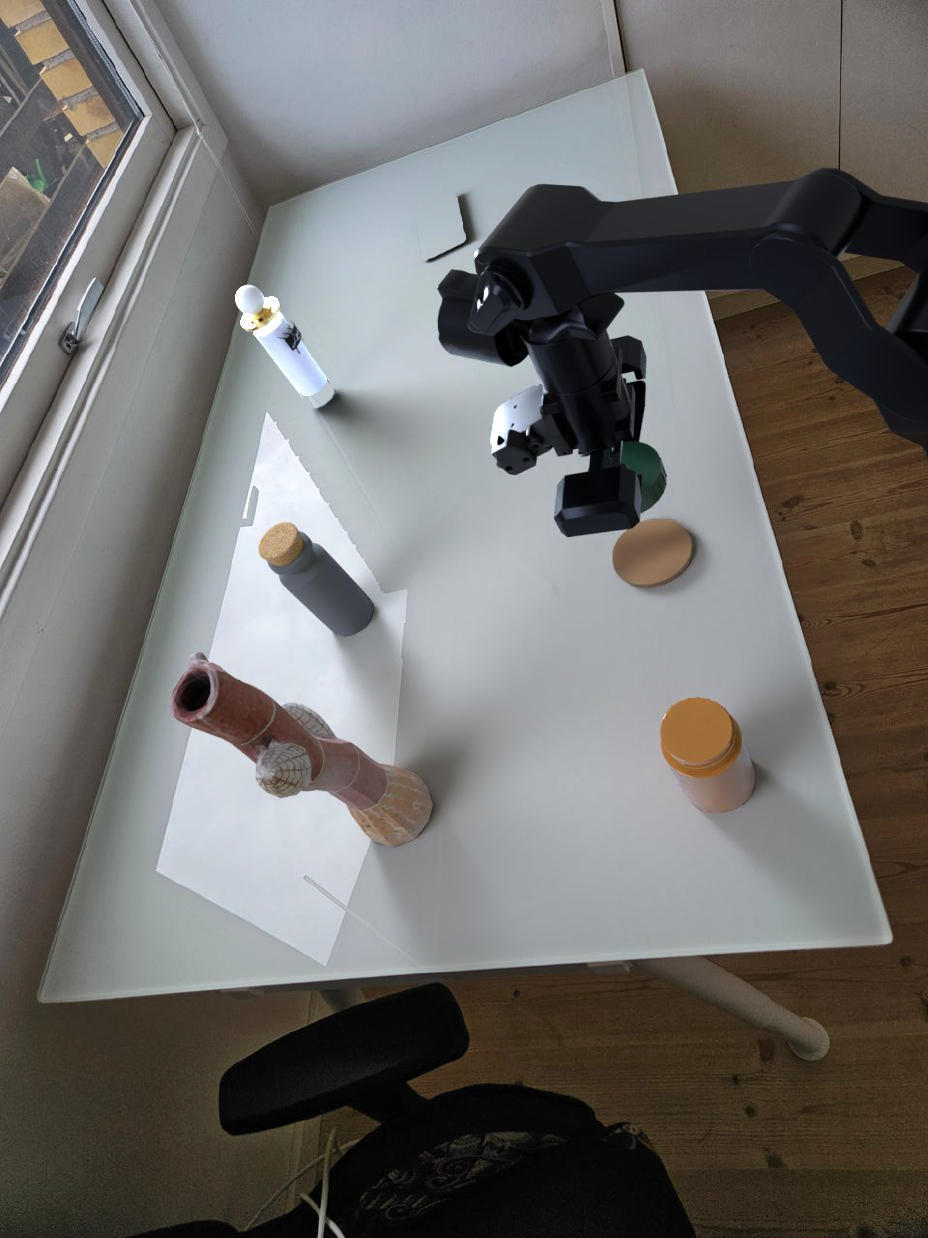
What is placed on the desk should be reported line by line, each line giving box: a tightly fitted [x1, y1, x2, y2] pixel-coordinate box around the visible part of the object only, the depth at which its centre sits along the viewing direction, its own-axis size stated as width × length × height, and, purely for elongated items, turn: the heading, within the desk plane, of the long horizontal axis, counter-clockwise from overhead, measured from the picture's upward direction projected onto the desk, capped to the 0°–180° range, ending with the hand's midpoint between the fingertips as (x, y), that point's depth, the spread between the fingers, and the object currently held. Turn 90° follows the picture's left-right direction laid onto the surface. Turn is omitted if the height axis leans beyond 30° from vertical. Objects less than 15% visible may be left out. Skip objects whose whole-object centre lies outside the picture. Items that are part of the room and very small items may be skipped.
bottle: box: [257, 521, 374, 637], centre depth 88 cm, size 6×6×15 cm
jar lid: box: [587, 441, 668, 515], centre depth 70 cm, size 7×7×2 cm
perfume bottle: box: [235, 284, 328, 396], centre depth 111 cm, size 6×6×20 cm
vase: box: [169, 651, 434, 848], centre depth 66 cm, size 10×7×30 cm
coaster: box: [611, 518, 694, 588], centre depth 81 cm, size 8×8×1 cm
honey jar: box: [659, 696, 756, 814], centre depth 64 cm, size 6×6×10 cm
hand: (627, 496), depth 72 cm, fingers closed on jar lid, 6 cm apart
